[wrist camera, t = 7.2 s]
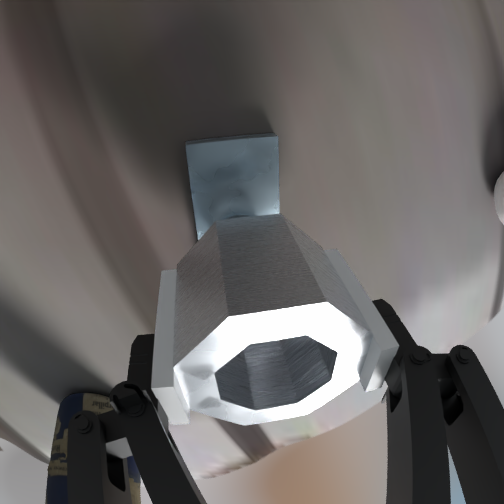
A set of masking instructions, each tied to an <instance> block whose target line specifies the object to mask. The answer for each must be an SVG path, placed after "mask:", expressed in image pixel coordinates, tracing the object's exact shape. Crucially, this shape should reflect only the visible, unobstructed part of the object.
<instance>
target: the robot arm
mask: <svg viewBox="0 0 504 504" xmlns="http://www.w3.org/2000/svg"><path fill="white" fill-rule="evenodd" d="M324 252H325V253H326V255H327V257H328V258H329V260H330V262H331V263H332V265H333V266H334V268H335V270H336V271H337V273H338V275H339V276H340V278H341V280H342V281H343V283H344V285H345V286H346V288H347V290H348V291H349V293H350V295H351V296H352V298H353V300H354V301H355V303H356V305H357V306H358V308H359V310H360V312H361V313H362V315H363V317H364V319H365V320H366V322H367V324H368V326H369V327H370V329H371V331H372V333H373V334H374V336H373V338H372V341H371V344H370V347H369V351H368V354H367V357H366V360H365V363H364V366H363V368H362V371H361V374H360V377H359V380H360V382H361V384H362V386H363V389H364V391H365V392H368V391H371V390H374V389H378V388H381V387H382V385H383V382H384V380H385V381H386V383H387V385H388V388H387V390H386V392H385V394H384V396H383V398H382V403H384V402H385V400H386V401H387V427H388V428H387V429H388V471H387V472H388V473H387V497H386V504H451V499H450V497H451V496H450V474H449V459H448V448H447V445H448V447H449V450H450V453H451V456H452V459H453V462H454V465H455V468H456V471H457V474H458V478H459V481H460V484H461V488H462V491H463V494H464V498H465V501H466V504H504V409H503V407H502V405H501V402H500V400H499V398H498V396H497V394H496V392H495V390H494V388H493V386H492V385H491V382H490V380H489V379H488V377H487V375H486V373H485V371H484V369H483V367H482V366H481V364H480V362H479V360H478V358H477V356H476V355H475V353H474V352H473V351H472V349H470V348H469V347H467V346H464V345H457V346H455V347H453V348H452V349H451V351H450V353H449V354H432V353H431V352H430V351H429V350H428V349H426V348H424V347H422V346H418V345H417V344H416V343H415V341H414V340H413V338H412V337H411V335H410V333H409V332H408V330H407V329H406V327H405V326H404V324H403V323H402V322H401V320H400V318H399V317H398V315H396V312H395V311H394V309H393V308H392V306H391V305H390V304H388V303H387V302H386V301H384V300H383V299H379V300H374V301H371V299H370V298H369V296H368V295H367V293H366V292H365V290H364V288H363V287H362V285H361V284H360V282H359V281H358V279H357V278H356V276H355V275H354V273H353V272H352V270H351V269H350V267H349V266H348V264H347V263H346V261H345V260H344V258H343V257H342V255H341V254H340V252H339V251H338V250H337V249H331V250H324ZM176 275H177V269H173V270H165V271H162V273H161V281H160V289H159V298H158V307H157V317H156V328H155V334H146V335H138V336H137V337H136V339H135V340H134V342H133V344H132V347H131V354H130V355H131V357H130V361H129V364H130V365H129V369H128V377H127V381H124V382H121V383H119V384H117V385H116V386H115V387H114V388H113V389H112V391H111V393H110V396H109V399H110V403H111V405H112V406H113V408H114V409H113V410H111V411H108V412H105V413H102V414H98V415H96V414H95V413H93V412H92V411H88V410H83V411H79V412H77V413H76V414H74V415H73V416H72V418H71V419H70V421H69V425H68V442H67V489H68V504H132V499H131V491H130V483H129V475H128V465H127V457H129V456H132V455H133V458H134V460H135V463H136V465H137V468H138V470H139V473H140V475H141V478H142V480H143V483H144V485H145V487H146V490H147V492H148V494H149V496H150V498H151V501H152V503H153V504H207V503H206V501H205V499H204V498H203V496H202V494H201V492H200V490H199V489H198V487H197V485H196V483H195V481H194V479H193V478H192V476H191V474H190V472H189V470H188V468H187V466H186V464H185V462H184V460H183V458H182V456H181V454H180V452H179V450H178V448H177V446H176V444H175V442H174V440H173V438H172V435H171V433H170V432H169V430H168V420H169V422H170V424H171V425H180V424H190V409H189V406H188V403H187V401H186V398H185V396H184V394H183V391H182V389H181V386H180V384H179V381H178V378H177V376H176V373H175V371H174V369H173V345H174V314H175V293H176Z"/></svg>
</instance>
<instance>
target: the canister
mask: <svg viewBox="0 0 504 504" xmlns="http://www.w3.org/2000/svg"><path fill="white" fill-rule="evenodd" d="M113 409H114V408H113V406H112V405H111V403H110V399H109V397H107V396H103V395H100V394H93V393H77V394H72V395H69V396H68V397H66V398H65V399H64V400H63V401H62V402H61V404H60V407H59V411H58V415H57V421H56V427H55V432H54V438H53V444H52V451H51V459H50V463H49V466H48V478H47V489H46V503H45V504H68V489H67V442H68V425H69V421H70V419H71V418H72V416H73V415H74V414H76V413H77V412H79V411H83V410H88V411H92V412H93V413H95V414H96V415H98V414H102V413H105V412H108V411H111V410H113ZM127 465H128V475H129V483H130V491H131V499H132V504H141V499H140V483H141V481H140V473H139V470H138V468H137V465H136V463H135V460H134V458H133V455H132V456H129V457H127Z"/></svg>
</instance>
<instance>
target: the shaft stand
mask: <svg viewBox="0 0 504 504" xmlns="http://www.w3.org/2000/svg"><path fill="white" fill-rule="evenodd" d="M185 146H186V154H187V162H188V170H189V178H190V186H191V193H192V201H193V208H194V215H195V222H196V229H197V235H198V240H199V239H200V238H201V237H202V236H203V234H204V233H205V232H206V231H207V230H208V229H209V228H210V226H211V225H212V224H213V223H214V222H215V221H217V220H225V219H234V218H242V217H251V216H260V215H270V214H279V153H278V136H277V135H276V134H275V133H264V134H250V135H238V136H228V137H218V138H208V139H200V140H192V141H186V145H185Z"/></svg>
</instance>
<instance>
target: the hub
mask: <svg viewBox="0 0 504 504" xmlns="http://www.w3.org/2000/svg"><path fill="white" fill-rule="evenodd" d="M373 336H374V334H373V333H372V331H371V329H370V327H369V326H368V324H367V322H366V320H365V319H364V317H363V315H362V313H361V312H360V310H359V308H358V306H357V305H356V303H355V301H354V300H353V298H352V296H351V295H350V293H349V291H348V290H347V288H346V286H345V285H344V283H343V281H342V280H341V278H340V276H339V275H338V273H337V271H336V270H335V268H334V266H333V265H332V263H331V262H330V260H329V258H328V257H327V255H326V253H325V252H324V250H323V249H322V247H321V246H320V245H319V244H317V243H316V242H315V241H314V240H313V239H311V238H310V237H309V236H308V235H307V234H305V233H304V232H303V231H302V230H301V229H299V228H298V227H297V226H296V225H295V224H293V223H292V222H291V221H290V220H288V219H287V218H286V217H285V216H284V215H282V214H281V213H279V214H270V215H260V216H251V217H242V218H234V219H225V220H217V221H215V222H214V223H213V224H212V225H211V226H210V228H209V229H208V230H207V231H206V232H205V233H204V234H203V236H202V237H201V238H200V239H199V240H198V241H197V242H196V244H195V245H194V246H193V247H192V248H191V249H190V251H189V252H188V253H187V254H186V255H185V256H184V257H183V259H182V260H181V261H180V262H179V263H178V264H177V275H176V293H175V314H174V345H173V369H174V371H175V373H176V376H177V378H178V381H179V384H180V386H181V389H182V391H183V394H184V396H185V398H186V401H187V403H188V406H189V409H190V410H193V411H196V412H199V413H202V414H205V415H209V416H212V417H215V418H219V419H222V420H226V421H230V422H233V423H237V424H241V425H251V424H258V423H264V422H270V421H276V420H281V419H287V418H292V417H297V416H302V415H306V414H309V413H310V412H312V411H314V410H315V409H317V408H318V407H320V406H322V405H323V404H325V403H326V402H328V401H329V400H331V399H332V398H334V397H335V396H337V395H338V394H340V393H341V392H343V391H344V390H345V389H347V388H348V387H350V386H351V385H353V384H354V383H355V382H357V381H358V380H359V377H360V374H361V371H362V368H363V366H364V363H365V360H366V357H367V354H368V351H369V347H370V344H371V341H372V338H373Z"/></svg>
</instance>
